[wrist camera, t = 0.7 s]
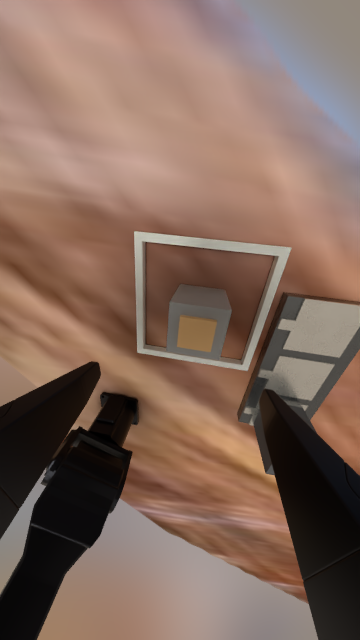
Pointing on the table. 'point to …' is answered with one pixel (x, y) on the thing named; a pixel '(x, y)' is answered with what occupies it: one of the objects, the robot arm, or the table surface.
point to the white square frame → (143, 237)
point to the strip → (304, 352)
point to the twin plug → (262, 441)
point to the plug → (198, 321)
